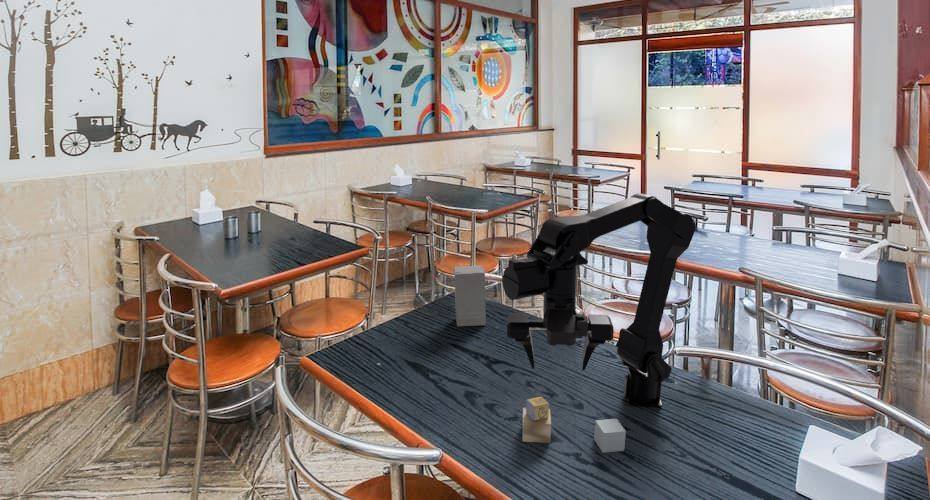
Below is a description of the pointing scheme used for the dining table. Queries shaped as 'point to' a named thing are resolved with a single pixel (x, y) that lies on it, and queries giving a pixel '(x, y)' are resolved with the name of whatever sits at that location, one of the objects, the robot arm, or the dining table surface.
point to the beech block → (536, 429)
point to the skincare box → (470, 295)
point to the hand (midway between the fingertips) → (558, 368)
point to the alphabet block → (537, 408)
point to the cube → (609, 435)
